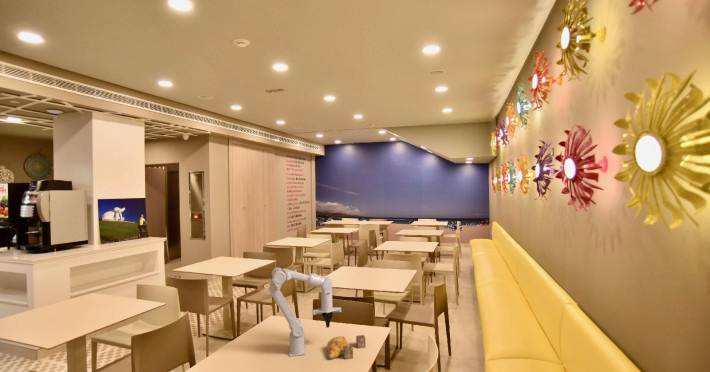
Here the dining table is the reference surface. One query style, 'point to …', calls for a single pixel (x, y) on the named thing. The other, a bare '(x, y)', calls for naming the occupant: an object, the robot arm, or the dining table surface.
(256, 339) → the dining table surface
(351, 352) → the number block one
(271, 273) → the robot arm
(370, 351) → the dining table surface
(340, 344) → the croissant
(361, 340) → the number block seven
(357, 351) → the dining table surface
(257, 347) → the dining table surface
